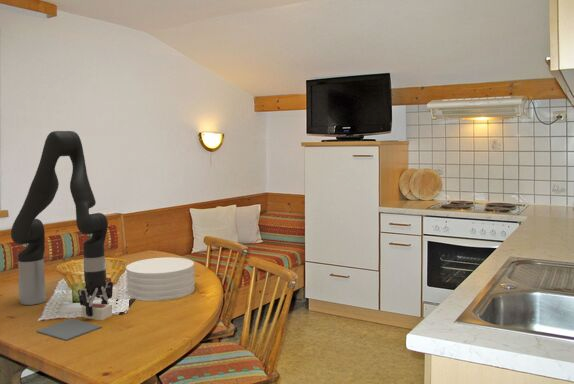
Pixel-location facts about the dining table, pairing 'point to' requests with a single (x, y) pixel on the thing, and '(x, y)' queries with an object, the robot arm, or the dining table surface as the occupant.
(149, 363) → the dining table surface
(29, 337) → the dining table surface
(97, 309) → the card box
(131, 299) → the chocolate bar
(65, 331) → the mat
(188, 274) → the plate stack
